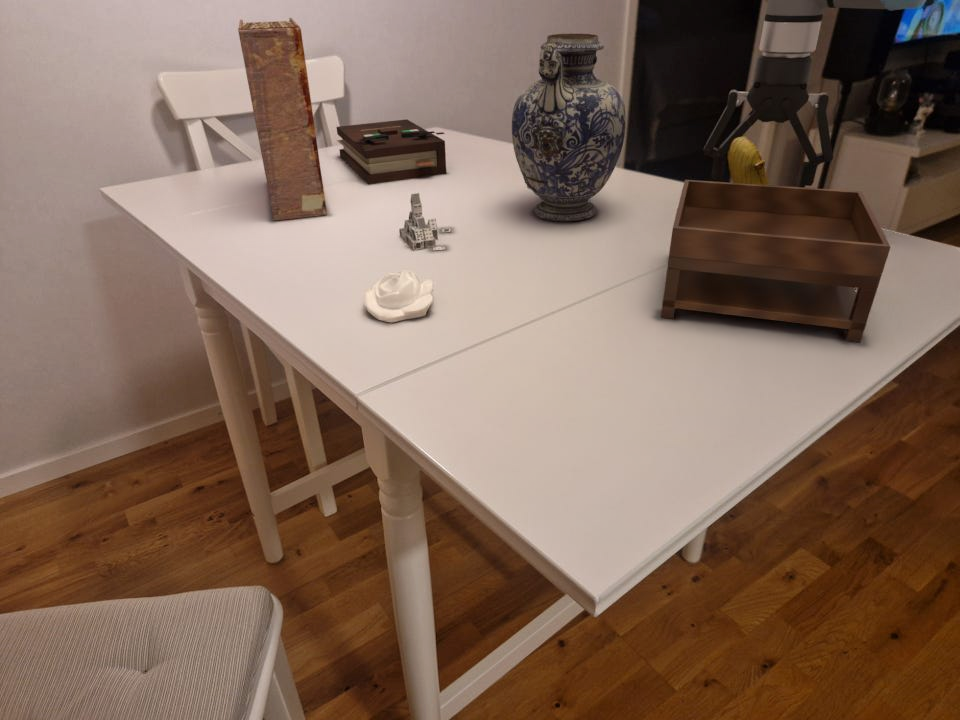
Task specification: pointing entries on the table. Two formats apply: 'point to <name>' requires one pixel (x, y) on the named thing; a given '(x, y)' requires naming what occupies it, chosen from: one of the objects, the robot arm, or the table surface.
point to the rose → (399, 297)
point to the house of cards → (420, 228)
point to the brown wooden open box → (775, 254)
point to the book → (283, 117)
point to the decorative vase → (568, 129)
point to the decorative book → (392, 151)
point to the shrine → (746, 163)
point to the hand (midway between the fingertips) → (756, 202)
